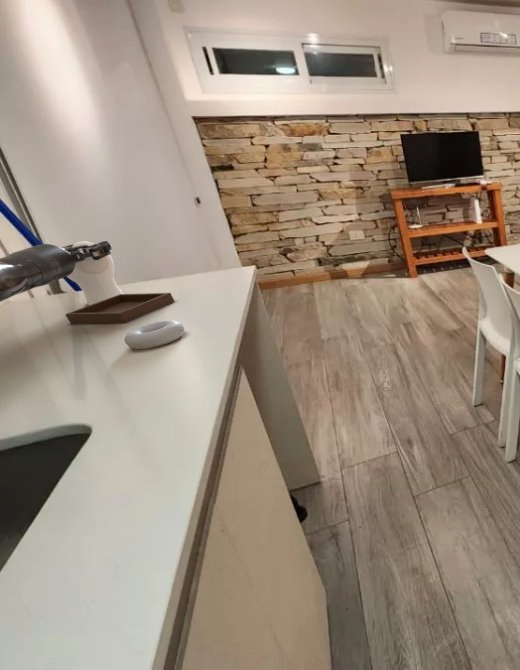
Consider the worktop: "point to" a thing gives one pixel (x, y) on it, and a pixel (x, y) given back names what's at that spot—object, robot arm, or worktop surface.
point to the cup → (97, 284)
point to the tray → (120, 308)
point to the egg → (92, 262)
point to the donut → (154, 334)
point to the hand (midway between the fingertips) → (91, 247)
